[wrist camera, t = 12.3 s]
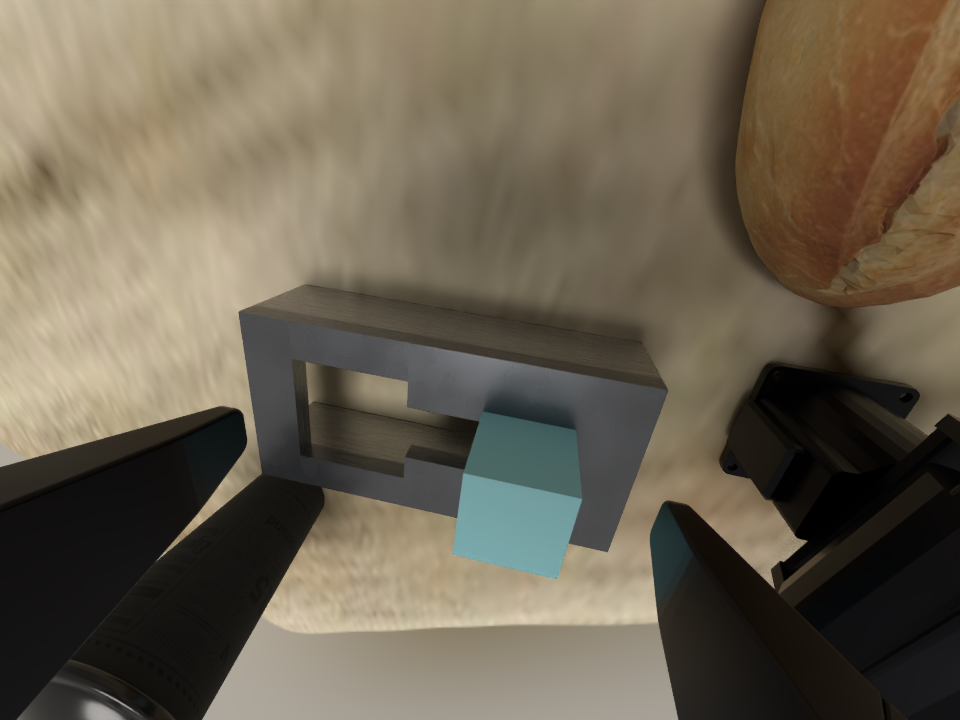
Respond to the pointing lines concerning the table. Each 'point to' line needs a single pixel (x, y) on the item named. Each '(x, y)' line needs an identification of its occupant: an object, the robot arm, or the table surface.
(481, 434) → the peg
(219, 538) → the drinking cup
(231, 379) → the table surface
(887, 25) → the bread roll
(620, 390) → the keyhole plate
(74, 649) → the robot arm
